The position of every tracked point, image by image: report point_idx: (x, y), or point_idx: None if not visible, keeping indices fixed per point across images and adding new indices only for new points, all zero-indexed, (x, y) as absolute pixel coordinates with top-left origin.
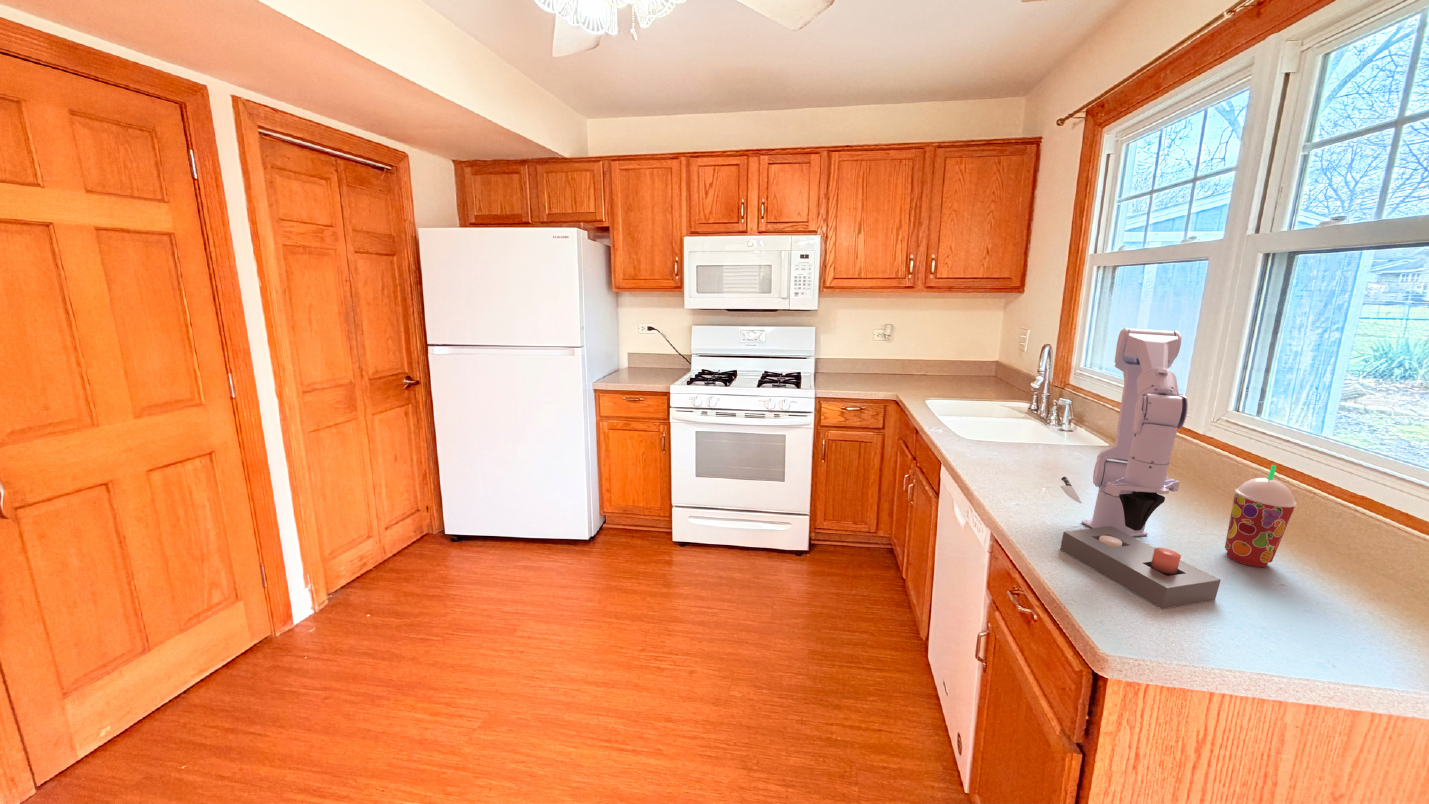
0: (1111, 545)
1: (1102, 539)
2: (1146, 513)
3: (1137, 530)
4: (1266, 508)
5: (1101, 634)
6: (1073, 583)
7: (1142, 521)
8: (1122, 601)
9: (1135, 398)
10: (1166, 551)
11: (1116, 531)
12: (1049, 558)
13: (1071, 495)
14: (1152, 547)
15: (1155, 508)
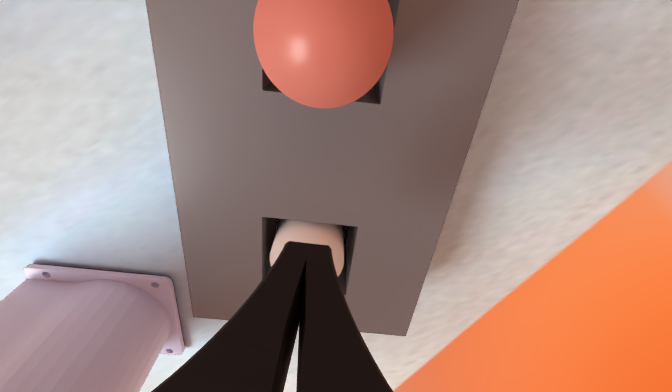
0: (335, 238)
1: (336, 271)
2: (281, 337)
3: (313, 244)
4: None
5: None
6: (587, 153)
7: (306, 282)
8: (578, 9)
9: None
10: (309, 54)
11: (210, 291)
12: (480, 264)
13: None
14: (181, 177)
15: (192, 373)
